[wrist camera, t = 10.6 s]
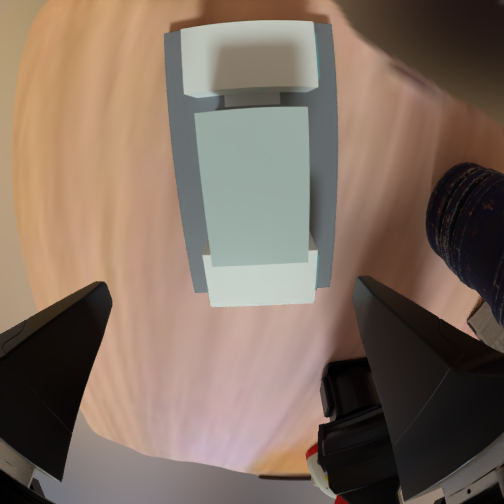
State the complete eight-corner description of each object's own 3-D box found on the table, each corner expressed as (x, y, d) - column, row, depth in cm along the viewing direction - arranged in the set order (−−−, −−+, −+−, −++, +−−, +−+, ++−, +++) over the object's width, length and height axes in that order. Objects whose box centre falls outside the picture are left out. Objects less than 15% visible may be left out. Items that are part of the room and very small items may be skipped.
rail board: (327, 28, 14) (346, 7, 10) (327, 280, 23) (339, 314, 19) (168, 37, 14) (145, 19, 10) (197, 285, 23) (186, 320, 19)
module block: (288, 108, 16) (307, 103, 10) (291, 212, 19) (308, 262, 13) (217, 112, 16) (194, 110, 10) (226, 215, 19) (212, 267, 13)
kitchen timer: (348, 428, 37) (362, 506, 23) (388, 436, 40) (403, 498, 27) (290, 455, 42) (294, 522, 29) (336, 462, 46) (343, 518, 32)
